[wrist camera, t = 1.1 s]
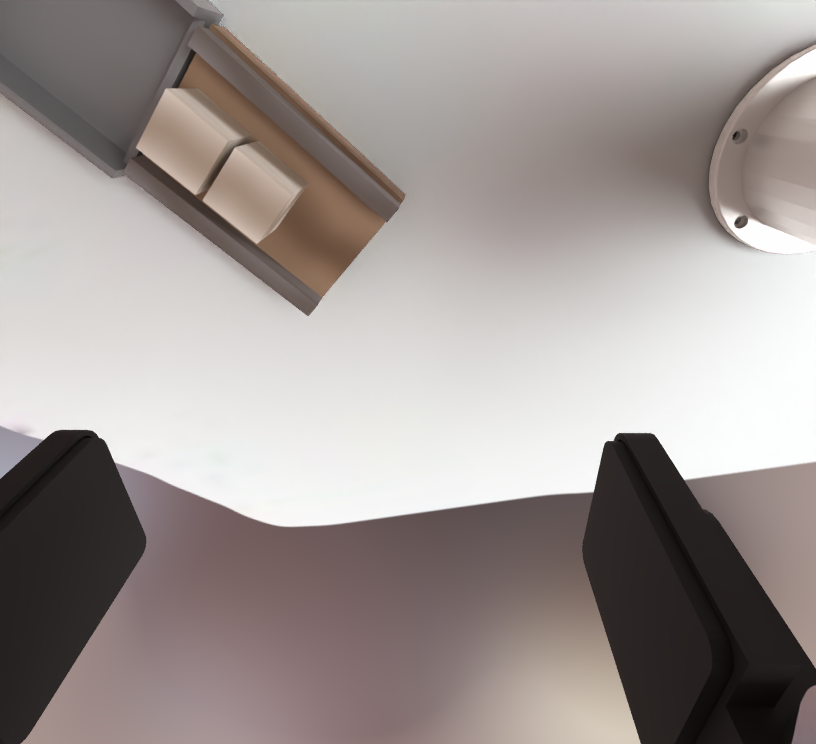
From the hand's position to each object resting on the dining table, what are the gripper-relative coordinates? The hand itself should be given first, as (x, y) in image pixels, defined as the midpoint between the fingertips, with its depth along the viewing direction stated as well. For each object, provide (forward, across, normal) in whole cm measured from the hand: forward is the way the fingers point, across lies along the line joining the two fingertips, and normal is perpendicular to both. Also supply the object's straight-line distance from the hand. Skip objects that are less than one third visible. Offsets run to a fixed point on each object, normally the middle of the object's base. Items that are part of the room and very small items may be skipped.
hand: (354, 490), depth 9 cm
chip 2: (+28, +10, -1) cm, 29 cm away
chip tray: (+30, +20, -11) cm, 38 cm away
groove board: (+30, +10, -1) cm, 31 cm away
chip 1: (+28, +13, -4) cm, 31 cm away
